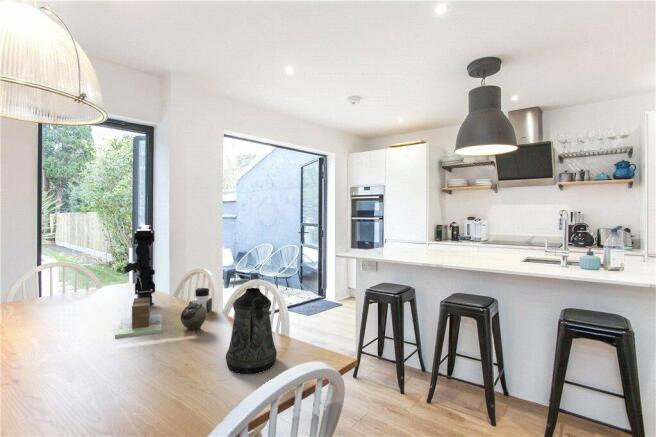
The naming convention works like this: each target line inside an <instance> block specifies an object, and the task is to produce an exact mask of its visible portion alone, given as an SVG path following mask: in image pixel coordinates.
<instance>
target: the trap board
mask: <svg viewBox="0 0 656 437" xmlns="http://www.w3.org/2000/svg"><path fill="white" fill-rule="evenodd" d="M153 322H158V324H152V325H151V323H153ZM125 325H130V327H127V328H126V327H124V328H122V327H123V326H125ZM160 333H161V334H162V333H163V314H162V313H158V314H157V313H156V314H150V318H149V327H144V328H135V329H132V316H130V317H129V316H128V317H121V319H120V322H119V325H118V327H117V331H116V333H115V334H114V338H115V339H120V338H127V337H136V336H145V335H153V334H160Z"/></svg>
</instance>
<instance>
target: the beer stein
mask: <svg viewBox="0 0 656 437" xmlns="http://www.w3.org/2000/svg"><path fill="white" fill-rule="evenodd" d="M232 308H233V310H234V316H233V317H234V318H233V323H232V330H231V336H230V342H229V346H228V349H227V351H226V354H225V361H226V366H228V367H227V368H228V370H229V371H230V370H231V371H230V372H232V371H233V372H232V373H234V372H235V374H238V373H240V374H239V375H243V374H247V375H257V374H256V373H258V374H260V373H259V372H262V373H264V372H263V371H265V372H267V371H269V370H271V369H272V368H273V367H274V366H275V363H276V359H277V355H278V354H277V352H278V351H277V348H276V345H275V341H274V337H273V331H272V323H271V315H270V309H271V308H272V301H271V300H270V298H269V297H267V296H266V295H265V294H264V293H263V292H261V290H260V288H259V287H248V288H246V289H245V292H244V293H242V295H240V296H239V297H237V298H236V299H235V300H234V301H233V302H232ZM273 365H274V366H273ZM272 366H273V367H272ZM271 367H272V368H271ZM270 368H271V369H270ZM268 369H269V370H268ZM266 370H267V371H266Z"/></svg>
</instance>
